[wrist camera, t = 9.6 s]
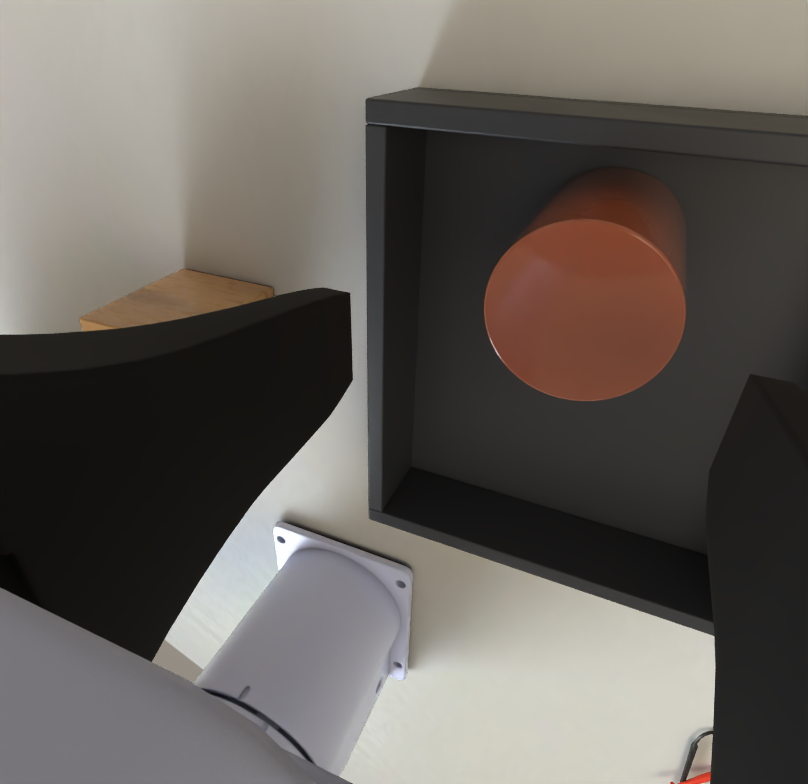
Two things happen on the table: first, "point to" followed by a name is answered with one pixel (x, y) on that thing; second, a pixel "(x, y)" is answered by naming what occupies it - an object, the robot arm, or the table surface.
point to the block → (174, 300)
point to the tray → (548, 415)
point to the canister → (593, 288)
